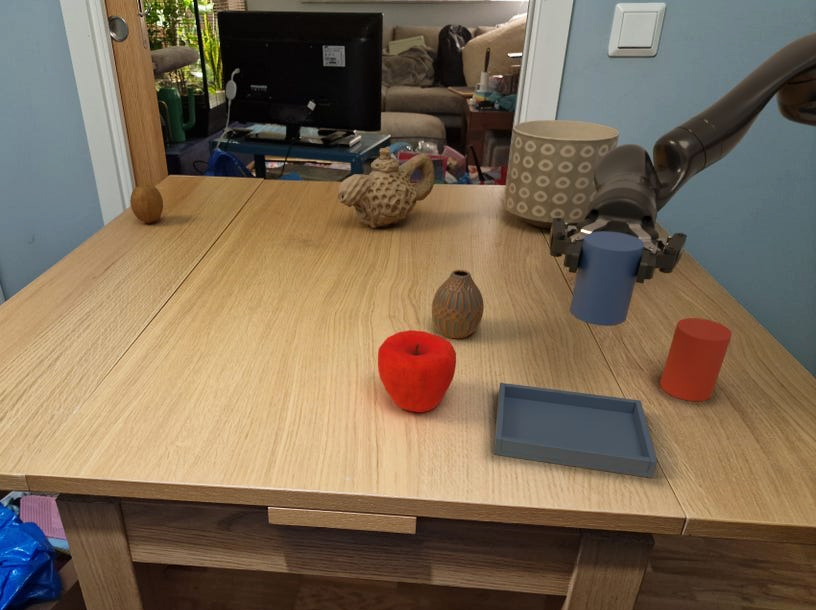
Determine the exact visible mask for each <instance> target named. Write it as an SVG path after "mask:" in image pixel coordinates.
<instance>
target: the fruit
mask: <svg viewBox="0 0 816 610" xmlns="http://www.w3.org/2000/svg"><path fill="white" fill-rule="evenodd" d="M129 199H130V200H129V201H130V208H131V211H132V213H133V214H134V216H135V217H136V218H137V220H139V221H140V222H143V223H145V224H148V225H150V224H153V223H154V222H156V221H157V220H159V219H160V218H161V216H162V213H163V210H164V199H163V196H162V194H161V192H160V191H159V189H158V188H156V186H155V185H152V184H148V183H146V182H142V183H141V184H140V185H137V186H135V187H134V188H133V190H132V191H131V194H130V198H129Z"/></svg>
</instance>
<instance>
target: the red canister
mask: <svg viewBox="0 0 816 610" xmlns="http://www.w3.org/2000/svg"><path fill="white" fill-rule="evenodd" d="M674 329H675V330H674V332H673V336H672V340H671V343H670V347H669V351H668V353H667V357H666V360H665V364H664V368H663V371H662V375H661V378H660V381H659V384H660V387H661V390H663V391H664V392H665V393H667V394H668V395H670V396H671V397H674V398H677V399H680V400H683V401H689V402H703V401H707V400H709V399H710V398H711V397H712V396H713V392H714V390H715V387H716V383H717V380H718V378H719V374H720V372H721V369H722V367H723V366H722V365H723V362H724V360H725V357H726V354H727V351H728V347H729V345H730V342H731V338H732V335H733V332H732V331H731V329H729V328H728V327H727V326H726V325H723V324H722V323H719V322H716V321H713V320H710V319H705V318H698V317H688V318H682V319H680V320H679V321H677V323H676V326H675V328H674Z"/></svg>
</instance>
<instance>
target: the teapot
mask: <svg viewBox="0 0 816 610" xmlns="http://www.w3.org/2000/svg"><path fill="white" fill-rule="evenodd" d="M378 153H379V157H377V158H376V159H374V160H373V161H372V162H371V163H370V167H371V171H370V172H369V174H362V173H361V174H360V173H359V174H358V173H356V174H355V173H354V174H352V175H351V176H348V177H347V178H345V179H343V181H342V182H341V184H340V185H339V186H338V191H337V198H338V199H339V201H340V204H342V205H345V206H347V207H348V208H351V207H354V210H355V213H356V214H357V216H358V218H360V221H361V224H363V225H365V226H370V227H371V229H376V228H388V227H391V226H394V225H397V224H398V223H399V222H401V221H404V219H406V218H407V217H408V215H409V214H411V213H412V212H413V211H414V207H415V206H416V205H417V202H418V201H419V202H421V201H424V200H425V199H426V198H427V197H428V196H429V195H430V194H431V192H432V190H433V188H434V186H435V181H436V178H435V168H434V163H433V160H432V158H431V156H429V154H427V153H423V152H422V153H419V154H417V155H414V156H412V157H411V158H410V159H408V160H407V161H405V162H403V163H401V165H400V163H399V161H398V159H397V158H396V157H393V156H391V155H392V153H391V147H390V146H386V147H381V148H379V151H378ZM418 170H419V171H420V179H419V181H418V182H416V183H413V184H412V183H411V177H412V176H413V174H414V173H415V172H417V171H418Z"/></svg>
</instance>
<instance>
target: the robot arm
mask: <svg viewBox="0 0 816 610" xmlns="http://www.w3.org/2000/svg"><path fill="white" fill-rule="evenodd" d="M774 97H775V98H776V106H777V110H778V112H779V114H780V115H781V117H782V118H784V119H785V120H787V121H790V122H792V123H796V124H800V125H805V126H811V127H814V128H815V127H816V31H814V32H811V33H808V34H806V35H803V36H801V37H798V38H796V39H794V40H793V41H791V42H789V43H787V44H786V45H785V46H783V47H781V48H780V49H779V50H777V51H776V52H774V53H773V54H772V55H770V56H769V57H768V58H767V59H766V60H764V61H763V62H762V63H761V64H760V65H758V66H757V67H756V68H755V69H754V70H752V71H751V72H750V73H748V74H747V75H746V76H745V77H744V78H743V79H741V81H739V82H738V83H736V84H735V86H733V87H732V88H731V89H729V91H728V92H726V93H725V94H724V95H723V96H722V97H720V98H719V99H717V101H715V102H714V103H712V104H711V105H710V106H708V107H706V108H705V109H704V110H701V111H700V112H699V113H698V114H695V115H693V116H692V117H690V118H689V119H687V120H685V121H683V122H681V124H679V125H677V126H675V127H674V128H672V129H671V130H669V131H667V132H666V133H663V135H661V136H660V137H659V138H658V139H657V140H656V141H655V142H654V145H653V147H652V159H651V157H650V154H649V152H648V151H647V150H646V149H645V147H643V146H642V145H639V144H636V143H626V144H621V145H619V146H618V145H617V147H616V148H614V149H612V150H610V151H609V152H607V153H606V154H605V155H604V156H603V157H602V158H601V159H600V160H599V161H598V163H597V165H596V166H595V169H594V173H593V179H594V186H595V191H596V196H595V198H594V199H593V201H592V202H591V203H590V205H589V207H588V212H587V214H586V217H585V219H584V221H581V222H579V223H578V224H577V226H568V224H569V223H568V222H564V219H562V218H559V217H557V218H553V221H552V227H551V229H550V233H549V240H548V241H549V255H550V256H552V257H554V258H561V257H562V256H563V255H564V259H563V265H562V266H563V267H564V268H568V273H573V274H577V270H578V266H579V261H580V256H581V251H582V245H583V240H584V237H585V235H587V234H589V233H592V232H602V231H606V232H618V233H623V234H627V235H631V236H634V237H636V238H638V239H640V240H641V241H643V243H644V249H643V253H642V256H641V260H640V264H639V268H638V272H637V277H636V281H635V283H636V284H637V283H638V284H644V282H645V280H648V281H649V280H652V279H653V277H654V273H655V269H658V271H659V272H661V273H663V274H671V273H673V271H674V269H675V268H676V266H677V265H678V263H679V261H680V260H681V259H682V255H683V253H684V252H683V251H684V248H685V245H686V241H687V237H688V235H687V234H685V233H683V232H675V233H674V234H673V235H668V236H667V237H662V236H660V234H659V232H658V231H657V230H655V228H656V220H657V218H658V213H659V212H660V211H661V210H662V209H663V208H665V206H666V205H667V204H668V203H669V202H670V201H671V199H672V198H673V197H674V196H675V195H676V194H677V192H679V190H680V189H681V188H682V187H684V185H685V184H686V183H688V181H690V180H691V179H692V178H693V177H695V176H696V175H698V174H700V173H702V172H703V171H704V170H706V169H707V168H709V167H711V166H712V165H714V164H716V163H717V162H719V161H721V160H722V159H723V158H725V157H727V155H729V154H730V153H731V152H733V151H734V149H735V148H736V147H737V146H738V145H739V144H740V143H741V142H742V140H743V139H744V138H745V137H746V135H747V134H748V133H749V132H750V129H751V128H752V127H753V125H754V124H755V123H756V121H757V119H758V117H759V116H760V115H761V113H762V112H763V110H765V108H766V107H767V105H768V104H769V102H770V101H771V100H772V99H773V98H774Z"/></svg>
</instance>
